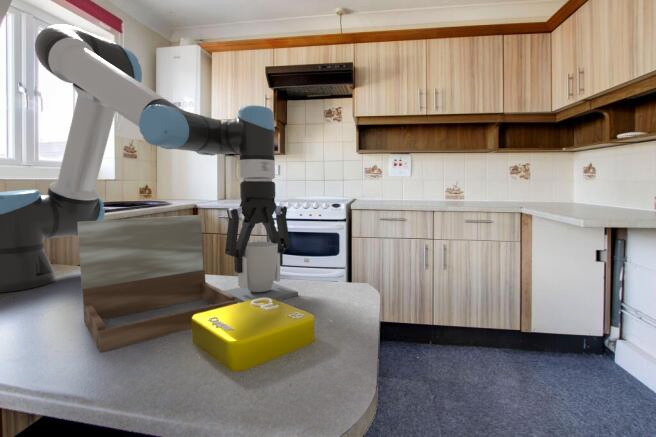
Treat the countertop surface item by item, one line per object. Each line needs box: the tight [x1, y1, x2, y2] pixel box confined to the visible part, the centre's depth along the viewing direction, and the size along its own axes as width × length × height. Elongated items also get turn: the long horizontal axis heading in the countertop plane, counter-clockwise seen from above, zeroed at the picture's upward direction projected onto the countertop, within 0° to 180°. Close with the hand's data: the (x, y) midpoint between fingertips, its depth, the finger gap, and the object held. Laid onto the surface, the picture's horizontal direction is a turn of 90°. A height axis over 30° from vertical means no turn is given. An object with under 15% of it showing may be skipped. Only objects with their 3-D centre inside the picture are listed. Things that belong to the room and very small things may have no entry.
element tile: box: [190, 297, 316, 372], centre depth 57 cm, size 15×15×5 cm
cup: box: [243, 241, 278, 292], centre depth 80 cm, size 8×8×10 cm
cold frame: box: [77, 214, 239, 353], centre depth 65 cm, size 17×22×18 cm
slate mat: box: [223, 282, 299, 303], centre depth 80 cm, size 12×12×1 cm
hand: (259, 283), depth 80 cm, fingers closed on cup, 8 cm apart
